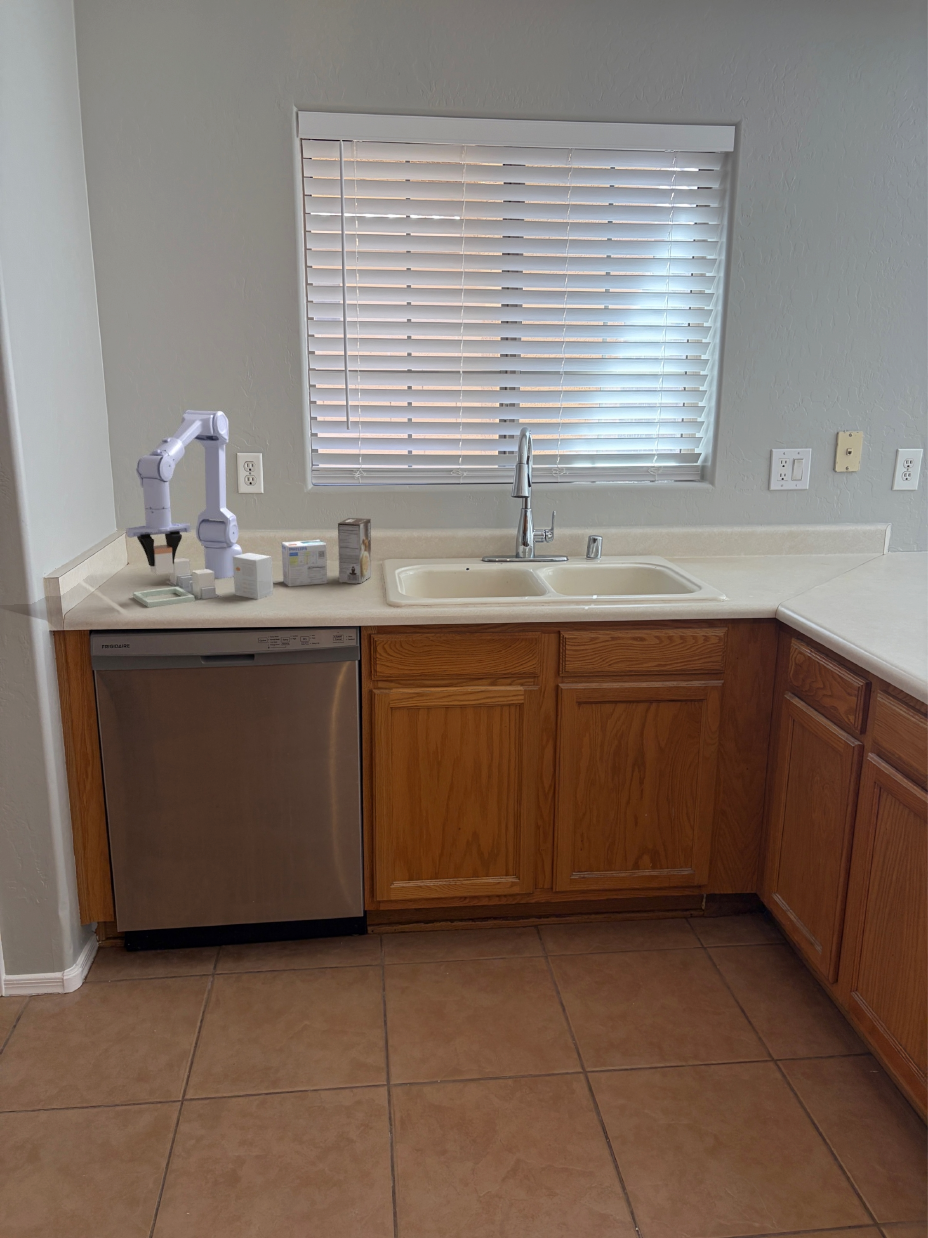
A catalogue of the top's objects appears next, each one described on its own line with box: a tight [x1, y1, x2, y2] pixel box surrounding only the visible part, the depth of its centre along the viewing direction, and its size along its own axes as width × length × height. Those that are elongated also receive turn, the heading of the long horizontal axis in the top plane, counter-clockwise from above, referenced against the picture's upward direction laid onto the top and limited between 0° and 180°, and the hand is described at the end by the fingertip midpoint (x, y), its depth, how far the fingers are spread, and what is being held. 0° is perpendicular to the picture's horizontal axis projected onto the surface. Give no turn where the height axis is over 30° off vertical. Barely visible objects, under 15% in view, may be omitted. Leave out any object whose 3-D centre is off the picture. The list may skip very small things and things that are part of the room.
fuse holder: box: [165, 573, 221, 601], centre depth 231 cm, size 6×23×3 cm, turn 37°
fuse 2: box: [191, 568, 216, 598], centre depth 224 cm, size 4×4×6 cm
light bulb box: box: [281, 539, 328, 588], centre depth 242 cm, size 11×7×11 cm, turn 115°
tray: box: [132, 586, 196, 608], centre depth 221 cm, size 11×11×2 cm
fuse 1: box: [169, 556, 192, 585], centre depth 237 cm, size 4×4×6 cm
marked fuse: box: [149, 544, 173, 575], centre depth 218 cm, size 4×4×6 cm
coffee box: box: [337, 517, 372, 584], centre depth 246 cm, size 9×6×16 cm
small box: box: [233, 552, 274, 600], centre depth 226 cm, size 8×6×10 cm
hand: (161, 564), depth 219 cm, fingers closed on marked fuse, 4 cm apart
